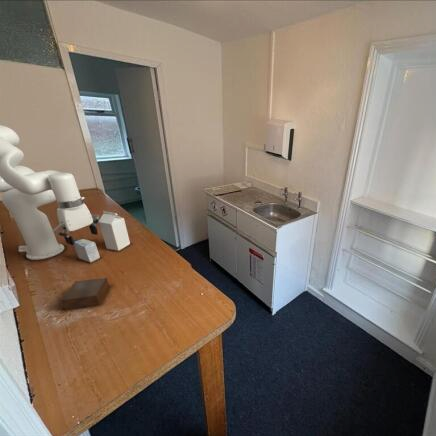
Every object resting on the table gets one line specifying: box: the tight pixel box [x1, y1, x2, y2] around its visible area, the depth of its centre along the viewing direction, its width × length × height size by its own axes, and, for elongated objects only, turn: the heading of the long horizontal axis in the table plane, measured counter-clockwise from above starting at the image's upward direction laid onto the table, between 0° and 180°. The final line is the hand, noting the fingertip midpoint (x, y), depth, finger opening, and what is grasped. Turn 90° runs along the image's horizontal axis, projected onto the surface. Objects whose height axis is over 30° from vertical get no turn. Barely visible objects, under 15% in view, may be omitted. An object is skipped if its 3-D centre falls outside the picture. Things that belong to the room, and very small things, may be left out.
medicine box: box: [73, 238, 101, 263], centre depth 106 cm, size 8×4×9 cm, turn 71°
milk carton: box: [98, 210, 131, 252], centre depth 114 cm, size 7×7×19 cm
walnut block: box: [60, 277, 110, 311], centre depth 86 cm, size 10×10×4 cm
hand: (83, 238), depth 103 cm, fingers open, 9 cm apart
